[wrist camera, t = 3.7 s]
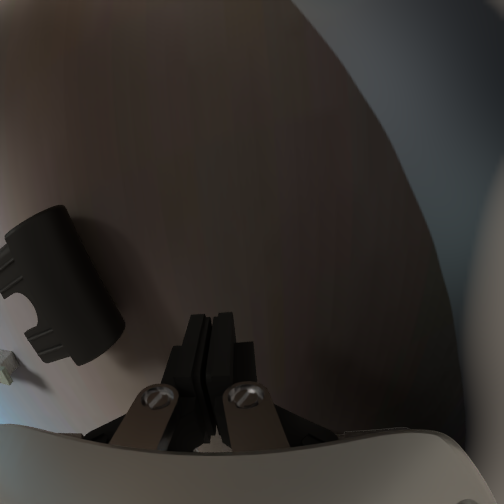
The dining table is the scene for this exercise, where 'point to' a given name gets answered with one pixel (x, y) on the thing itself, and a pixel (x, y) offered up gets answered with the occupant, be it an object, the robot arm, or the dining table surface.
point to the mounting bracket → (7, 366)
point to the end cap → (59, 288)
